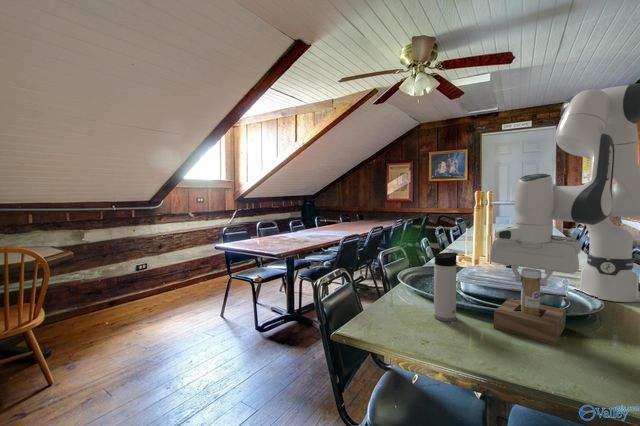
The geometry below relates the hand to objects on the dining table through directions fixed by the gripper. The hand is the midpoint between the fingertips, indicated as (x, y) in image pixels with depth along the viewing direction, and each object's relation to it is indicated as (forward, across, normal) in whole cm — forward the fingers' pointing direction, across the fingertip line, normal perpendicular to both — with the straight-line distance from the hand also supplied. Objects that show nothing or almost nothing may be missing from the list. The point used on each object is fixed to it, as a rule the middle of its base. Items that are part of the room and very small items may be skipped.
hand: (530, 283), depth 88 cm
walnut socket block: (+13, 0, 0) cm, 13 cm away
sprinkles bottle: (+10, 0, 0) cm, 10 cm away
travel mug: (+13, +20, +9) cm, 25 cm away
